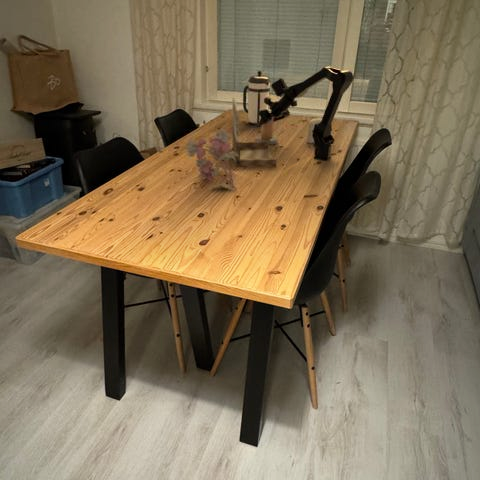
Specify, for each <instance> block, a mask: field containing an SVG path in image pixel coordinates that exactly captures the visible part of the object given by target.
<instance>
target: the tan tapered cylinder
mask: <svg viewBox="0 0 480 480" xmlns="http://www.w3.org/2000/svg"><path fill="white" fill-rule="evenodd" d="M268 112H269V113H271V110H270V111H268ZM273 120H274V117H273V118H272V120H271V121H270V122H269V123H266V124H264V125H261V127H260V129H261V131H260V136H261V139H262V140H272V138H273V136H274V135H273V134H274V133H273V132H274V122H273Z"/></svg>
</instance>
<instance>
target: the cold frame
mask: <svg viewBox="0 0 480 480" xmlns="http://www.w3.org/2000/svg"><path fill="white" fill-rule="evenodd" d="M235 98H236V97H234V96H232V151H235V152H236V153H237V154H238V155H239V157H240V158H239V157H238V156H234V155H233V156H234V158H235V160H234V163H235V167H236V168H266V167H267V168H268V167H269V168H272V167H273V168H274V167H277V160H278V159H277V158H273V156H272V154H271V151H270V149H269V145H268V141H256V142H255V141H241V139H240V136H239V128H240V126H239V125H240V124H239V117H240V116H239V111H240V110H239V107H238V104H237V101H236V99H235Z"/></svg>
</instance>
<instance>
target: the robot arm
mask: <svg viewBox="0 0 480 480" xmlns="http://www.w3.org/2000/svg"><path fill="white" fill-rule="evenodd" d="M354 78H355V77H354V74H353V73H352V71H351V70H342V69H339V68H334V67H333V66H325V67H322V68H321V69H320V70H319V71H317V72H315V73H314V74H313V75H311V76H309V77H308V78H306V79H305V80H303V81H301V82H299V83H296V84H294V85H293V84H292V85H291V86H288V85H287V83H286V82H285V79H284V78H279V79H277V80H276V81H274V82H273V83H272V84H271V86H270V88H271V89H272V91H273V92H274V93H275V96H276V97H277V98H276V97H275V96H274V95H269V96H267V97H266V98H264V103H265V104H267V105H269V106H268V108H269V110H270V111H271V113H269V112H268V110H267V109H264V110H261V111H260V112H259V115H260V117H261V119H260V122H259V127H260V126H261V125H264V124H266V123H269V122H270V121H271V120H272V118H273V117H274V120H273V123H274V122H278V121H281V120H283V119H286V118H288V117H290V113H291V112H290V111H289V108H290V107H292V108H293V107H294V108H295V107H298V102H297V101H298V100H296V99H299V98H302V97H303V96H304V95H305V94H306V93H308V91H309V90H310V89H312V88H313V87H314V86H316V85H318V84H319V83H321V82H323V81H325V80H326V79H327V80H328V81H330V82H332V83H331V85H332V88H331V89H332V92H331V94H330V97H329V100H328V102H327V105H326V108H325V110H324V113H323V115H322V120H321V122H320V123H317V124H315V126H314V129H313V131H312V132H313V134H312V137H313V139H314V143H313V144H314V146H315V148H314V156H313V158H314V159H317V160H322V161H328V160H329V159H330V158H332V156H331V152H332V151H331V150H332V145H333V144H334V143H335V141H336V140H335V138H334V136H333V135H332V130H333V127H332V123H333V122H334V118H335V115H336V113H337V111H338V108H339V106H340V103H341V101H342V98H343V95H344V93H346V91H348V89H349V88H350V86H351V84H352V83H353V81H354ZM278 97H279V98H280V99H278Z"/></svg>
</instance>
